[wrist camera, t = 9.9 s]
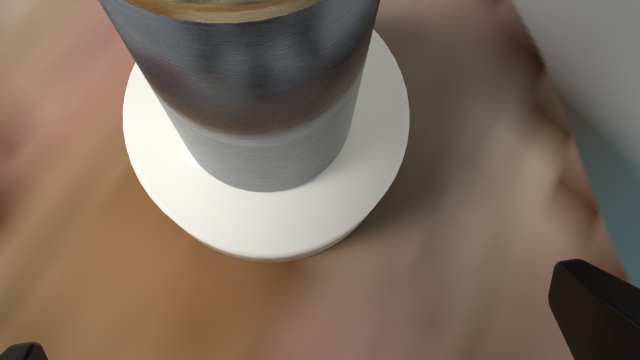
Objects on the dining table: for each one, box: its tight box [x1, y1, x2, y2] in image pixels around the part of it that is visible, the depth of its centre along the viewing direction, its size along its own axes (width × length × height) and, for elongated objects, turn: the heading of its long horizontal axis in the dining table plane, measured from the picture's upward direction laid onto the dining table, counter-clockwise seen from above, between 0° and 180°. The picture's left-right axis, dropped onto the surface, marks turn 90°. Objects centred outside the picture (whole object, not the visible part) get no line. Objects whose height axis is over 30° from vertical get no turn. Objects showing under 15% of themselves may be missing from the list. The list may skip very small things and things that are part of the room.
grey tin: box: [99, 0, 380, 192], centre depth 14 cm, size 6×6×11 cm
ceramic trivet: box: [123, 29, 410, 263], centre depth 21 cm, size 10×10×4 cm
